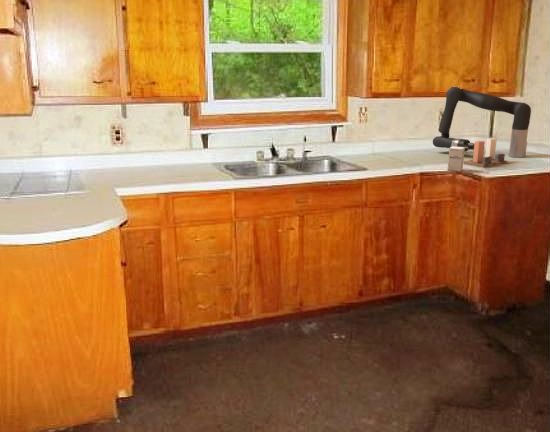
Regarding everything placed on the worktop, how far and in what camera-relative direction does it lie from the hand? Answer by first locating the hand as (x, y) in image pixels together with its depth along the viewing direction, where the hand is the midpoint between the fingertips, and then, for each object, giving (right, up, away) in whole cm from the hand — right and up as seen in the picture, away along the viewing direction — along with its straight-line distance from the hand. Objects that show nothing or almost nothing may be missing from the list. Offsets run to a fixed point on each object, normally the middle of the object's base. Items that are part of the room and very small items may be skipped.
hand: (483, 148), depth 322 cm
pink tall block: (-8, -9, -12) cm, 17 cm away
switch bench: (-2, -10, -8) cm, 13 cm away
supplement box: (-26, -15, -24) cm, 38 cm away
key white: (+3, -7, -3) cm, 8 cm away
